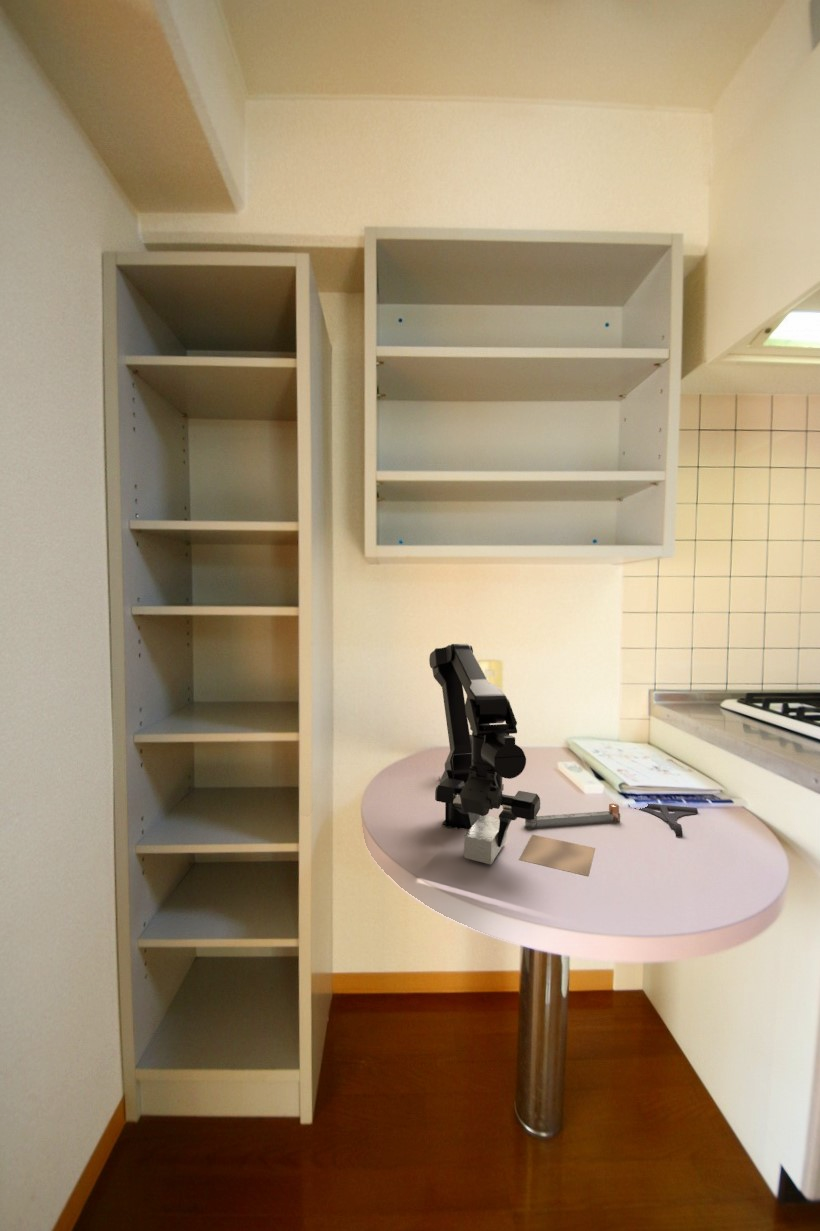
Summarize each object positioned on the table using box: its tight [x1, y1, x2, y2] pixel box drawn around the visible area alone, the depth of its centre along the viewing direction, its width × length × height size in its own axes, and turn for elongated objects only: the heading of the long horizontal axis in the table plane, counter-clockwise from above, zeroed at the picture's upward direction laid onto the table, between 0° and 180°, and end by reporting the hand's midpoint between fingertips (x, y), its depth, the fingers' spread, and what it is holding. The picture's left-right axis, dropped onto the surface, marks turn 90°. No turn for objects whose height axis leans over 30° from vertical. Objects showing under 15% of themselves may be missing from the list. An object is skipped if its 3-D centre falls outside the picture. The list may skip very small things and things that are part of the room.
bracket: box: [638, 802, 699, 838], centre depth 107 cm, size 14×15×3 cm
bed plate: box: [518, 834, 596, 877], centre depth 91 cm, size 12×11×1 cm
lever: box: [524, 803, 621, 830], centre depth 104 cm, size 21×2×4 cm, turn 100°
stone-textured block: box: [463, 814, 508, 865], centre depth 91 cm, size 5×10×4 cm, turn 153°
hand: (486, 843), depth 91 cm, fingers closed on stone-textured block, 5 cm apart
